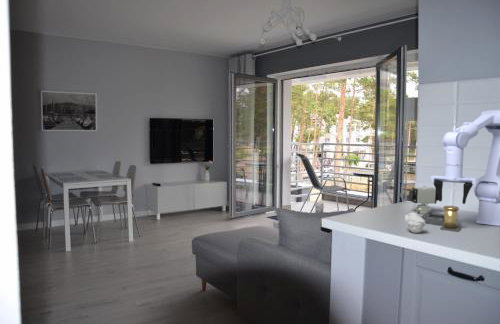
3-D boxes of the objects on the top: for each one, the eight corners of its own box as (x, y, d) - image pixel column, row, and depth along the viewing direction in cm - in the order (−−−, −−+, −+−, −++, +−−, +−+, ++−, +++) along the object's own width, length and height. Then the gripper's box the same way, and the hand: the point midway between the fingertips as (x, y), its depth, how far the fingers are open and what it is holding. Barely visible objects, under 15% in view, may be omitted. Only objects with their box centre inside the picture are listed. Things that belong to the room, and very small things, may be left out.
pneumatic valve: (439, 214, 168) (440, 186, 167) (411, 214, 168) (413, 186, 168) (433, 211, 174) (434, 185, 173) (406, 211, 174) (408, 184, 173)
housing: (426, 216, 164) (427, 210, 163) (453, 219, 158) (453, 213, 158) (419, 222, 152) (419, 216, 152) (447, 226, 147) (448, 220, 146)
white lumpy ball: (409, 229, 142) (409, 210, 141) (428, 233, 137) (429, 213, 136) (400, 232, 138) (401, 212, 137) (420, 236, 133) (421, 215, 132)
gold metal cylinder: (458, 226, 144) (459, 206, 143) (457, 229, 140) (458, 209, 139) (443, 225, 147) (444, 205, 146) (442, 228, 142) (442, 207, 142)
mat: (461, 228, 144) (461, 227, 143) (458, 231, 139) (458, 230, 139) (443, 226, 147) (443, 225, 147) (440, 229, 142) (440, 228, 142)
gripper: (429, 164, 142) (428, 201, 143) (475, 167, 134) (473, 206, 135) (433, 163, 148) (432, 198, 149) (477, 165, 139) (475, 203, 140)
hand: (452, 202), depth 142 cm, fingers open, 7 cm apart
